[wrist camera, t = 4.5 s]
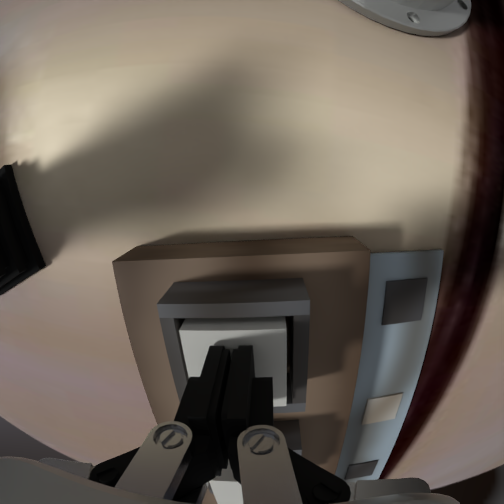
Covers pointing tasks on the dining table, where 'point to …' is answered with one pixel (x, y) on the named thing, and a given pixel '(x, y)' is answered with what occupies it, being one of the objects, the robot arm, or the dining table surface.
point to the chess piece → (15, 236)
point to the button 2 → (233, 335)
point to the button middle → (226, 488)
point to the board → (295, 333)
